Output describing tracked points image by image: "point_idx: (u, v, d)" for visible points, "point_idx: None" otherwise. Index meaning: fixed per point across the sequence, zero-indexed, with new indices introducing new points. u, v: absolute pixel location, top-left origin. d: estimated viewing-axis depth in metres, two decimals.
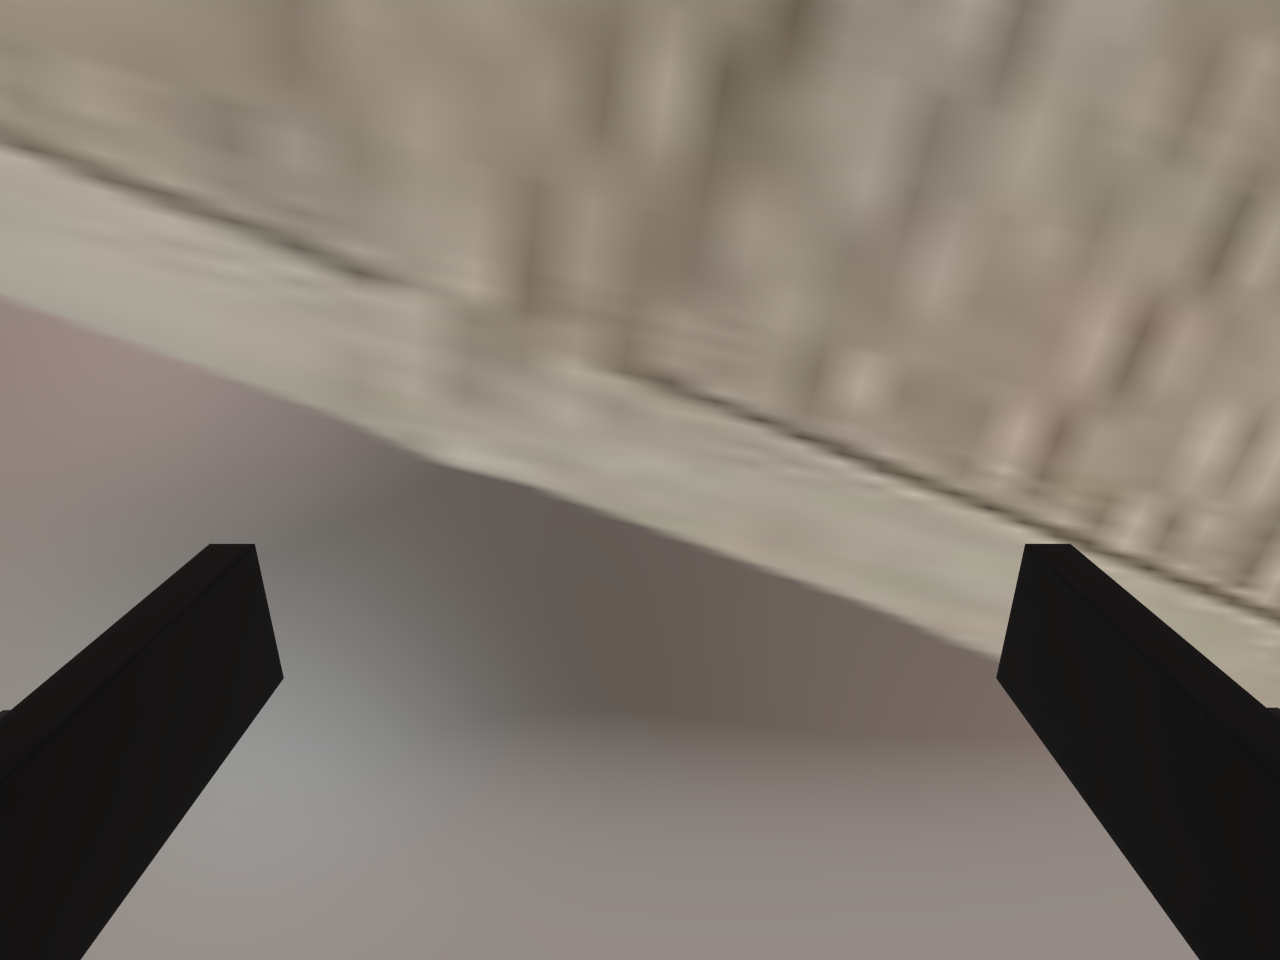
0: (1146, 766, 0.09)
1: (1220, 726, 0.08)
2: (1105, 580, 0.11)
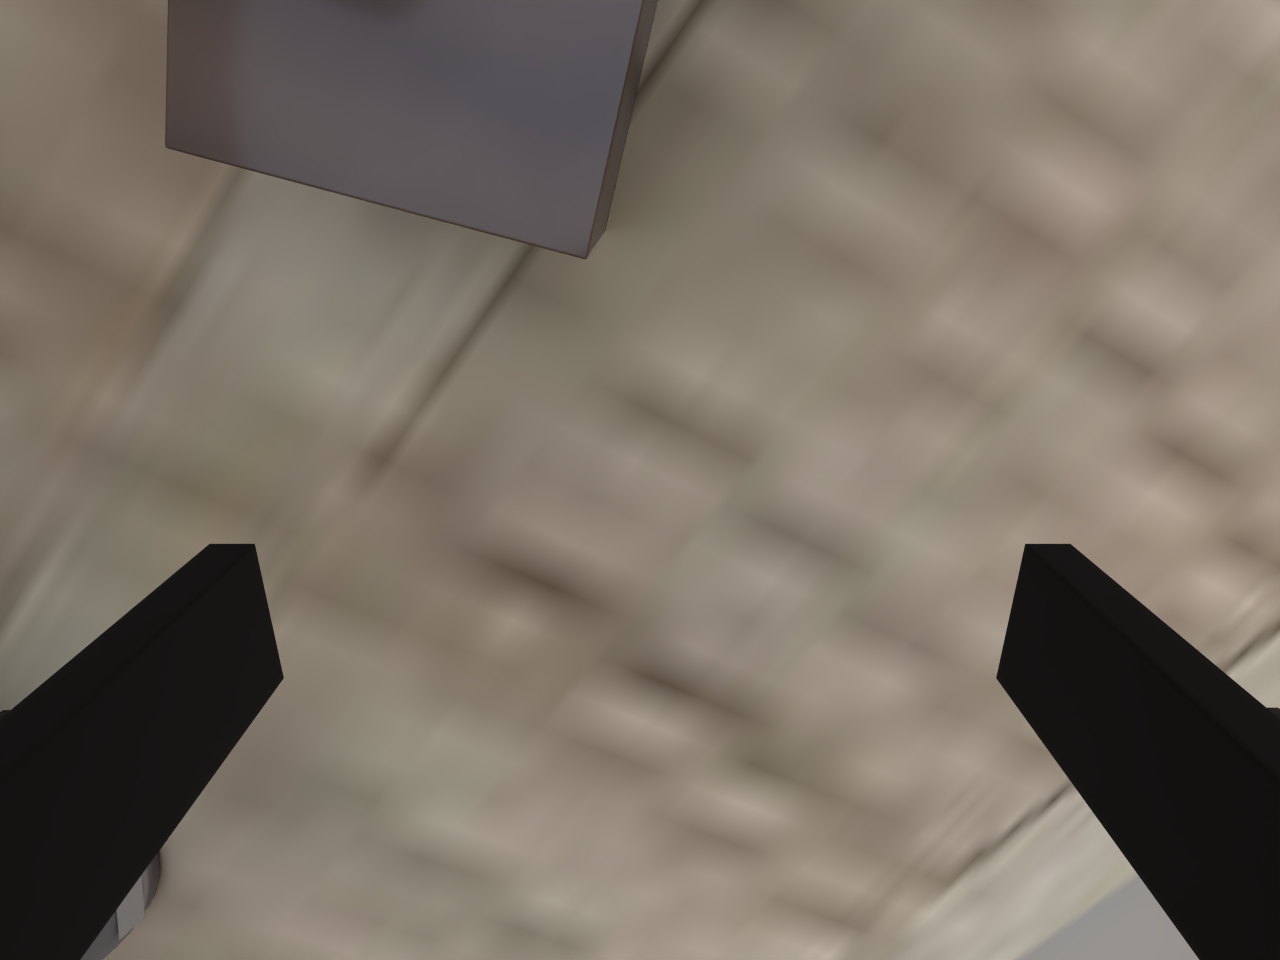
0: (1146, 766, 0.09)
1: (1221, 726, 0.08)
2: (1106, 580, 0.11)
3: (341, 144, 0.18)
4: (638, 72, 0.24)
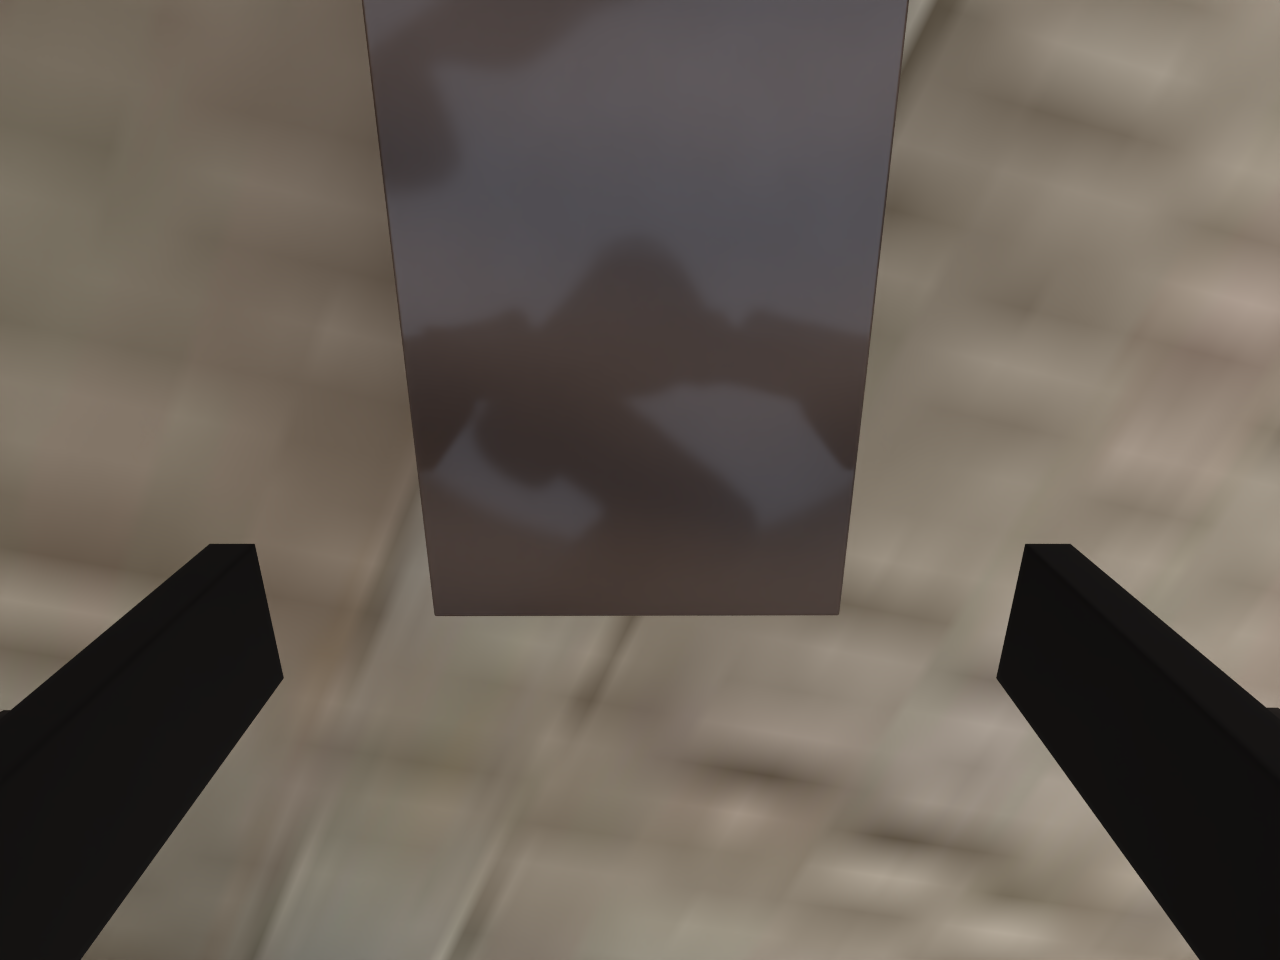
0: (1145, 765, 0.09)
1: (1221, 726, 0.08)
2: (1106, 580, 0.11)
3: (593, 577, 0.19)
4: None
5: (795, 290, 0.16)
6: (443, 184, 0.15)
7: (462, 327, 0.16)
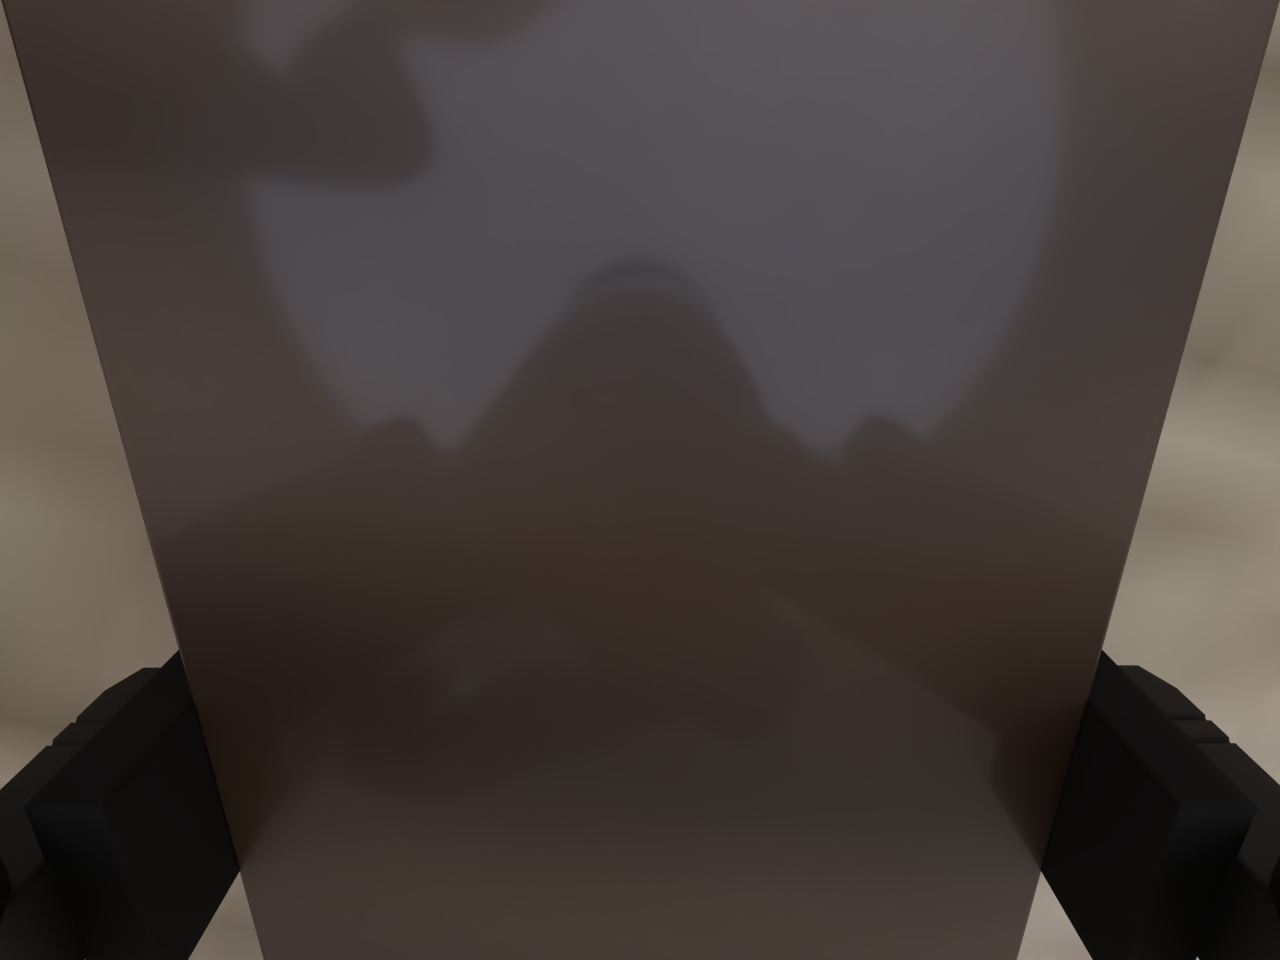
0: None
1: None
2: None
3: (558, 916, 0.10)
4: None
5: (991, 406, 0.07)
6: (187, 171, 0.06)
7: (267, 482, 0.08)
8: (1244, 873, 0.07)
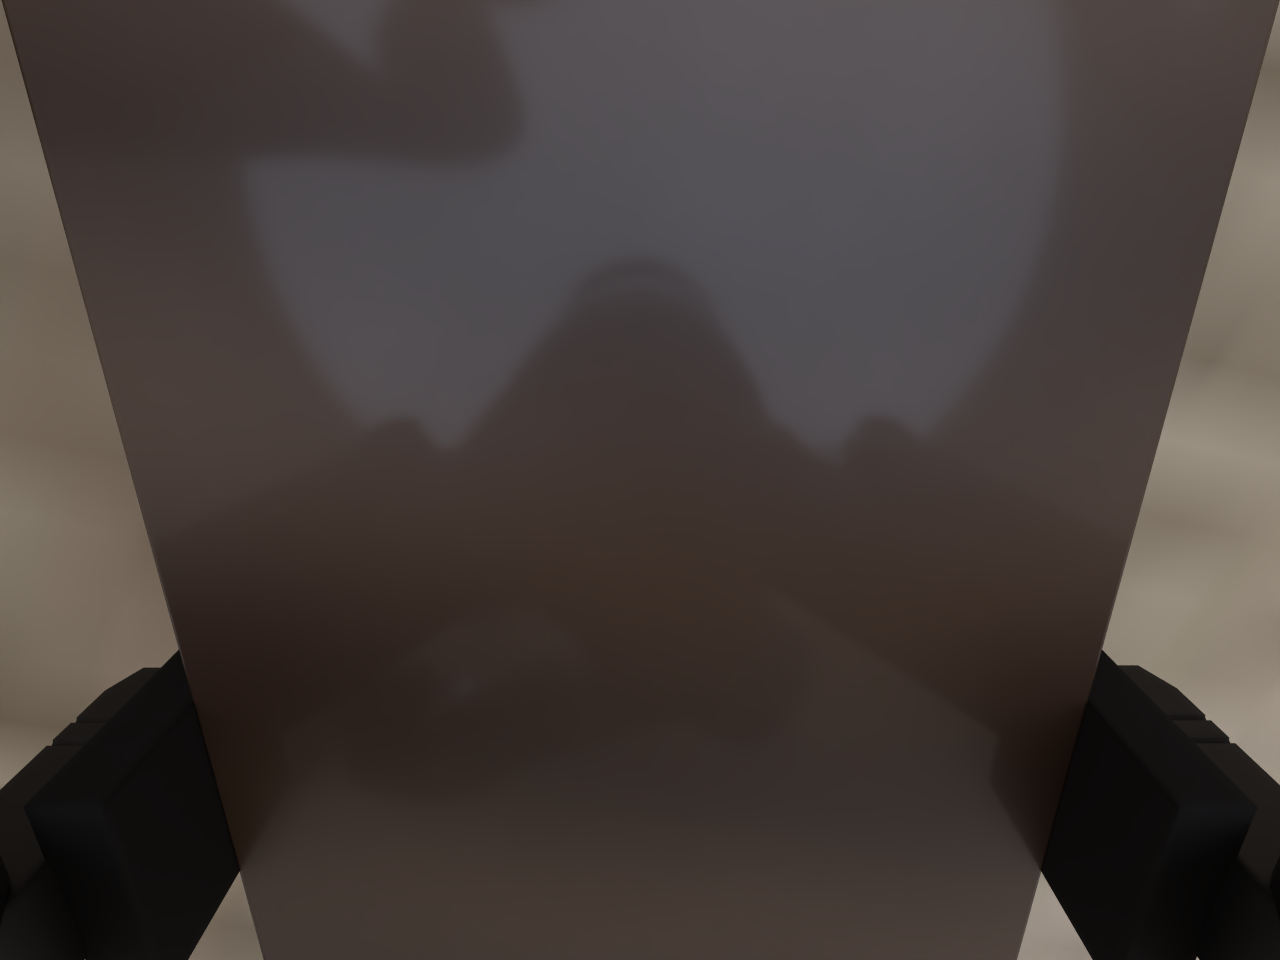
0: None
1: None
2: None
3: (558, 915, 0.10)
4: None
5: (992, 406, 0.07)
6: (188, 171, 0.06)
7: (266, 481, 0.08)
8: (1244, 872, 0.07)
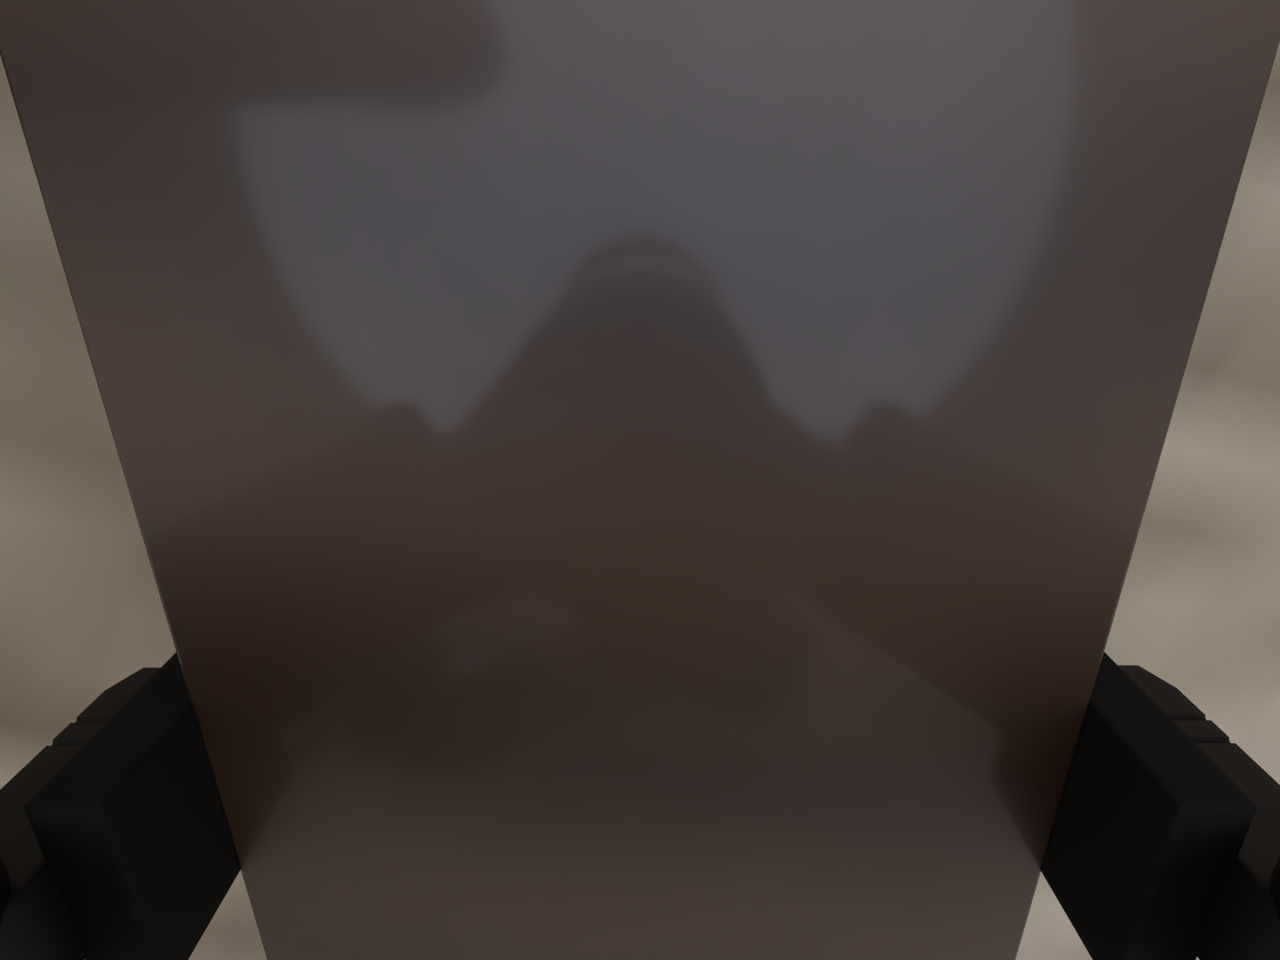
0: None
1: None
2: None
3: (558, 914, 0.10)
4: None
5: (994, 410, 0.07)
6: (177, 174, 0.06)
7: (262, 487, 0.07)
8: (1244, 872, 0.07)
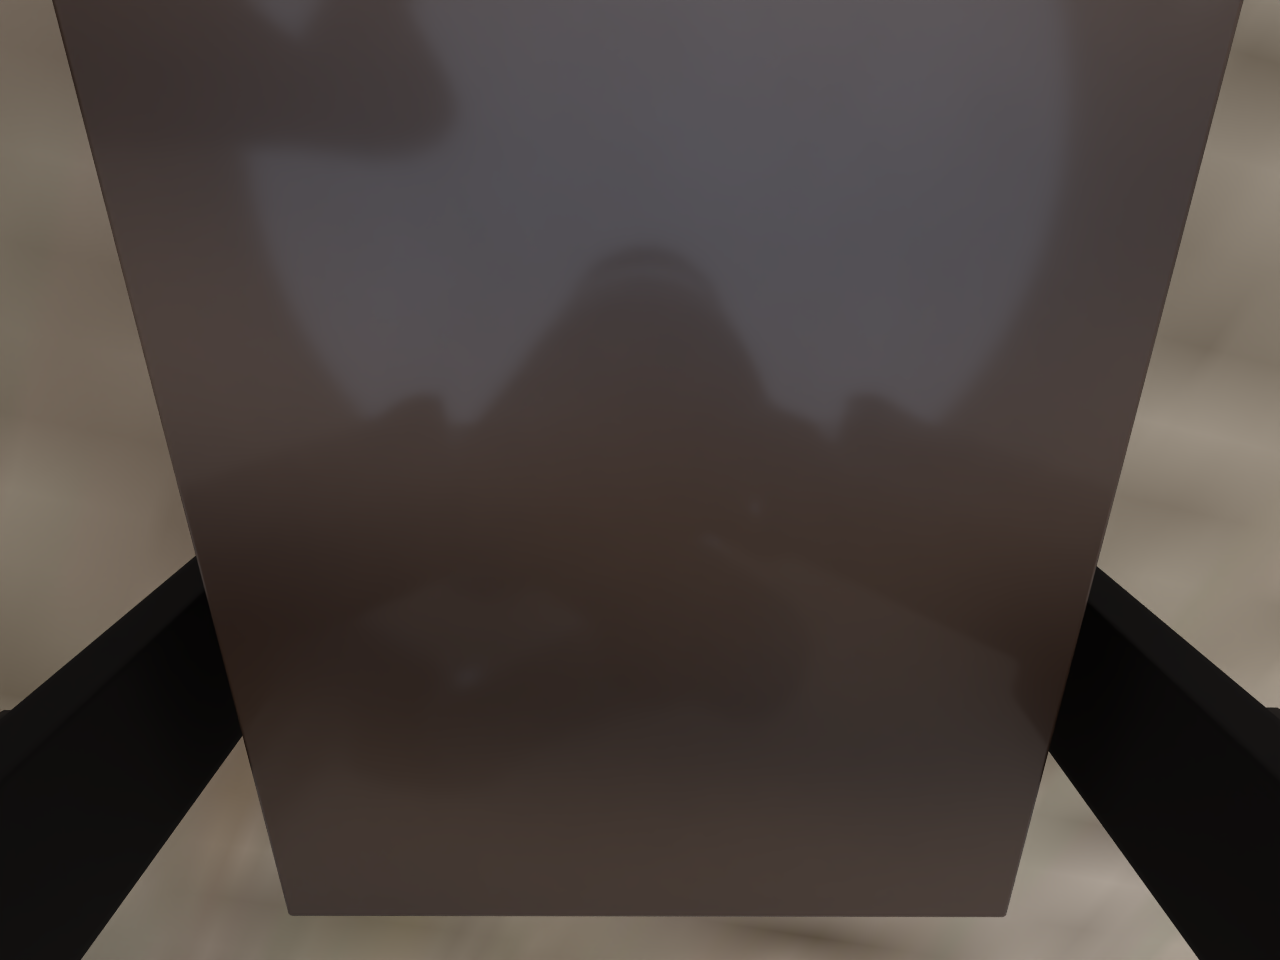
0: (1145, 766, 0.09)
1: (1220, 726, 0.08)
2: (1105, 580, 0.11)
3: (567, 860, 0.10)
4: None
5: (981, 360, 0.08)
6: (218, 134, 0.07)
7: (291, 435, 0.08)
8: None
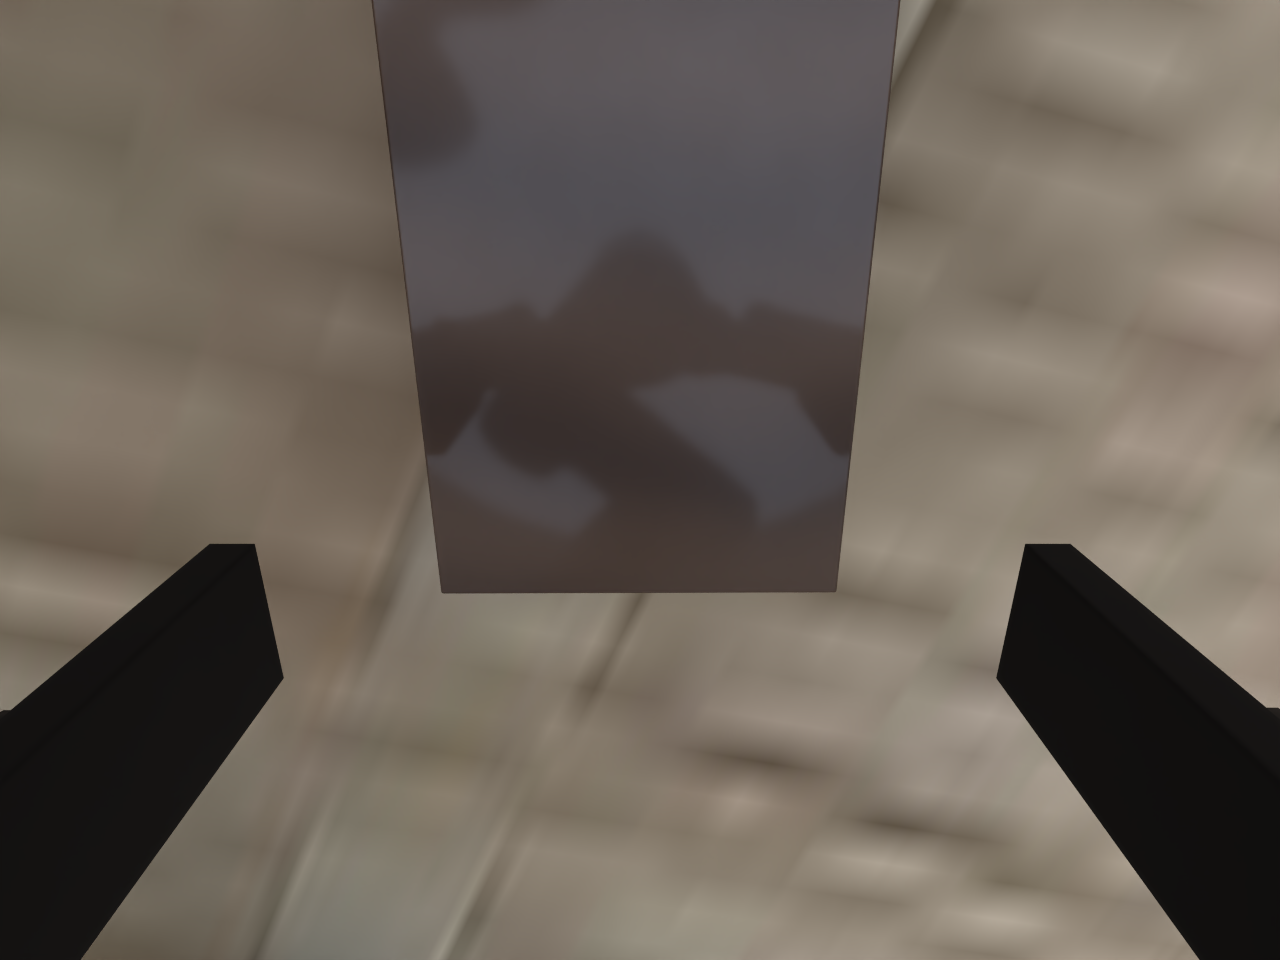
0: (1145, 766, 0.09)
1: (1221, 726, 0.08)
2: (1105, 580, 0.11)
3: (596, 555, 0.19)
4: None
5: (792, 272, 0.16)
6: (449, 169, 0.16)
7: (468, 309, 0.17)
8: None
